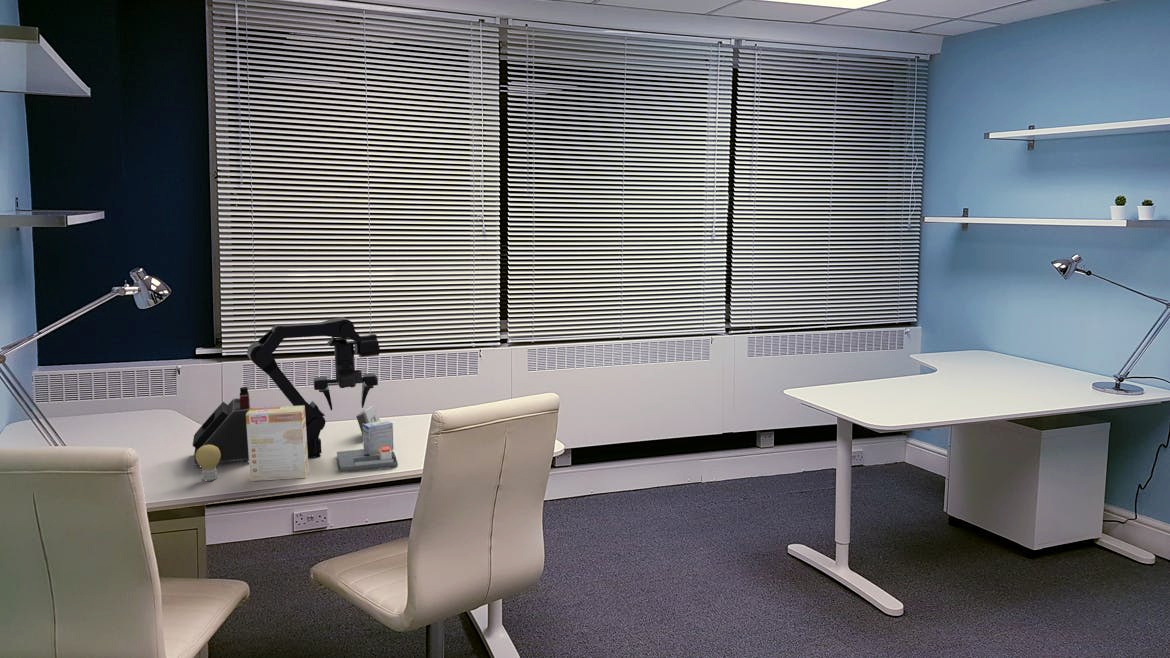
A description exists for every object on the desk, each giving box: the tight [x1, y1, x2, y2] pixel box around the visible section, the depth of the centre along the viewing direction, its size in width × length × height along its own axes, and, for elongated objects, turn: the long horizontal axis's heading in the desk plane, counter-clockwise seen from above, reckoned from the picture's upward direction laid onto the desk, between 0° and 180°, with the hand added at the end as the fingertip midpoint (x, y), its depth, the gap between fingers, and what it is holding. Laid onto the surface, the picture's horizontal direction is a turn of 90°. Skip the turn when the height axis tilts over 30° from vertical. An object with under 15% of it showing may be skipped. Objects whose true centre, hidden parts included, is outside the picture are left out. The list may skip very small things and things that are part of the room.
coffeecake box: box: [246, 405, 310, 482], centre depth 255 cm, size 15×7×20 cm, turn 99°
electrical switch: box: [356, 405, 381, 436], centre depth 296 cm, size 9×5×9 cm, turn 174°
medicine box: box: [362, 419, 395, 455], centre depth 272 cm, size 8×4×9 cm, turn 130°
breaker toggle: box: [380, 446, 392, 460], centre depth 266 cm, size 3×4×4 cm
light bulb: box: [196, 445, 221, 481], centre depth 253 cm, size 6×6×10 cm
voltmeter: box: [192, 386, 251, 467], centre depth 271 cm, size 16×16×20 cm
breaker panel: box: [336, 448, 399, 473], centre depth 269 cm, size 16×16×3 cm
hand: (347, 408), depth 279 cm, fingers open, 9 cm apart
